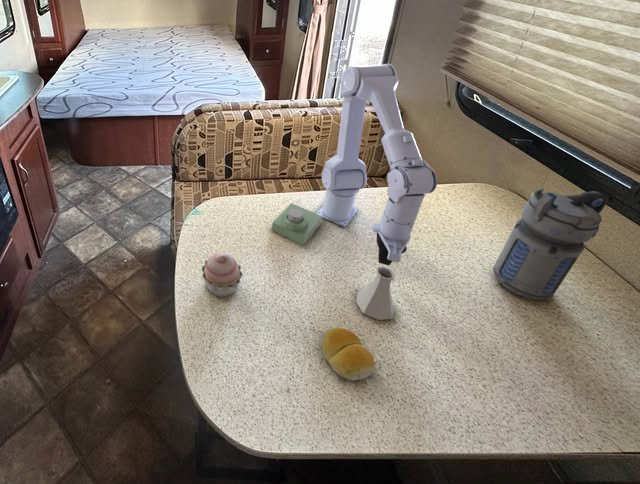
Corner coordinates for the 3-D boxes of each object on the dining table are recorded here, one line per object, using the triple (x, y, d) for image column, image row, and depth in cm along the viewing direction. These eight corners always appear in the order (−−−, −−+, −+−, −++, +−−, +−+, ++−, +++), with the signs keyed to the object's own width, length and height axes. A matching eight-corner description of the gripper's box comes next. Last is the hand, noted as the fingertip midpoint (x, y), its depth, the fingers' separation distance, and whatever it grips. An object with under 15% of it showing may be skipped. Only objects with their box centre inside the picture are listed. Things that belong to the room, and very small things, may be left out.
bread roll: (347, 330, 74) (351, 317, 73) (380, 375, 67) (385, 361, 65) (310, 340, 73) (313, 327, 71) (340, 386, 65) (344, 373, 63)
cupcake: (198, 299, 82) (198, 267, 78) (203, 267, 90) (204, 236, 86) (240, 307, 80) (243, 274, 75) (242, 273, 88) (245, 242, 83)
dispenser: (290, 210, 108) (292, 197, 106) (320, 223, 102) (323, 210, 100) (271, 229, 101) (273, 217, 99) (303, 245, 95) (305, 232, 93)
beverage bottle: (575, 299, 78) (642, 205, 67) (517, 306, 77) (574, 212, 66) (529, 263, 87) (580, 174, 76) (476, 268, 86) (520, 180, 75)
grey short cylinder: (291, 212, 101) (292, 206, 100) (304, 218, 98) (305, 212, 97) (285, 219, 98) (286, 213, 97) (298, 225, 96) (299, 219, 95)
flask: (388, 295, 81) (400, 262, 77) (398, 324, 75) (411, 290, 70) (352, 289, 83) (362, 256, 78) (359, 317, 77) (369, 283, 72)
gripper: (377, 192, 85) (364, 236, 91) (378, 232, 74) (363, 279, 80) (413, 199, 82) (397, 245, 88) (419, 242, 71) (401, 291, 77)
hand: (383, 262), depth 84 cm, fingers closed
